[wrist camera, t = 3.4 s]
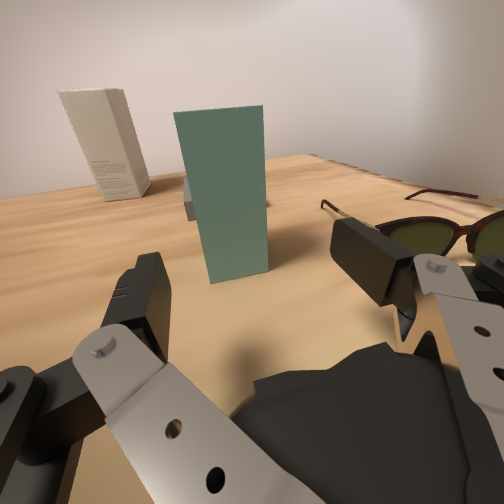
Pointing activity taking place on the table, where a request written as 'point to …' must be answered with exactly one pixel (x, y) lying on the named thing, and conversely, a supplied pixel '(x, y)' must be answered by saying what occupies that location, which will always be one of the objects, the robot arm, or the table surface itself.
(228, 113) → the teal block
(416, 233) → the sunglasses
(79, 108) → the skincare box
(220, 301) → the table surface
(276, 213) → the table surface
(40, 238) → the table surface
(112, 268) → the table surface
